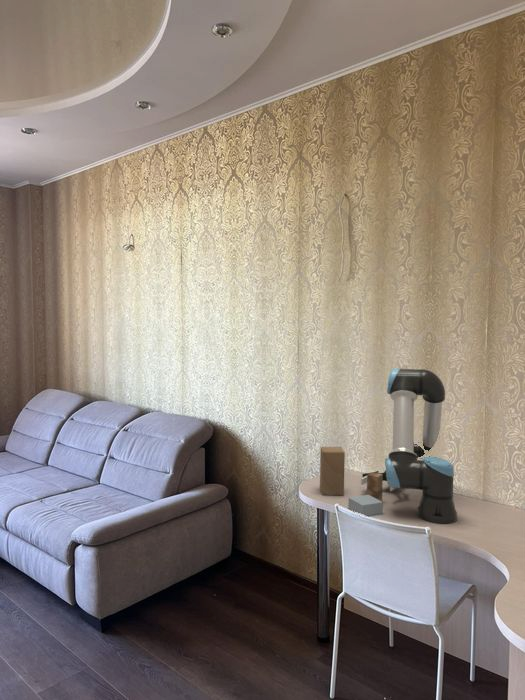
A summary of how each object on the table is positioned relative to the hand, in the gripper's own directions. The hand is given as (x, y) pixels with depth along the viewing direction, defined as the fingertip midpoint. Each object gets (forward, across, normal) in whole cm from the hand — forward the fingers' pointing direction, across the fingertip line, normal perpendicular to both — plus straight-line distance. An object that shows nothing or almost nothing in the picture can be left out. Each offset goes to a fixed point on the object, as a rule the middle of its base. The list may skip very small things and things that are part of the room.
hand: (375, 484), depth 223 cm
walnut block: (+2, 0, -7) cm, 7 cm away
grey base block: (+15, -2, -7) cm, 17 cm away
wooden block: (+2, +21, -7) cm, 22 cm away
